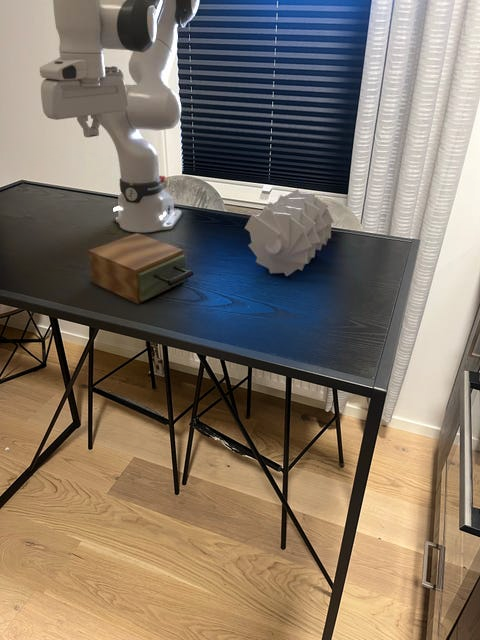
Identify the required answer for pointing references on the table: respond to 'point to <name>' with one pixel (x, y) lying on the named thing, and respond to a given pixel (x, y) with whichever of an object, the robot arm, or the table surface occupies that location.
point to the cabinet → (128, 263)
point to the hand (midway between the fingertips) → (91, 136)
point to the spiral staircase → (289, 232)
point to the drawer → (162, 277)
